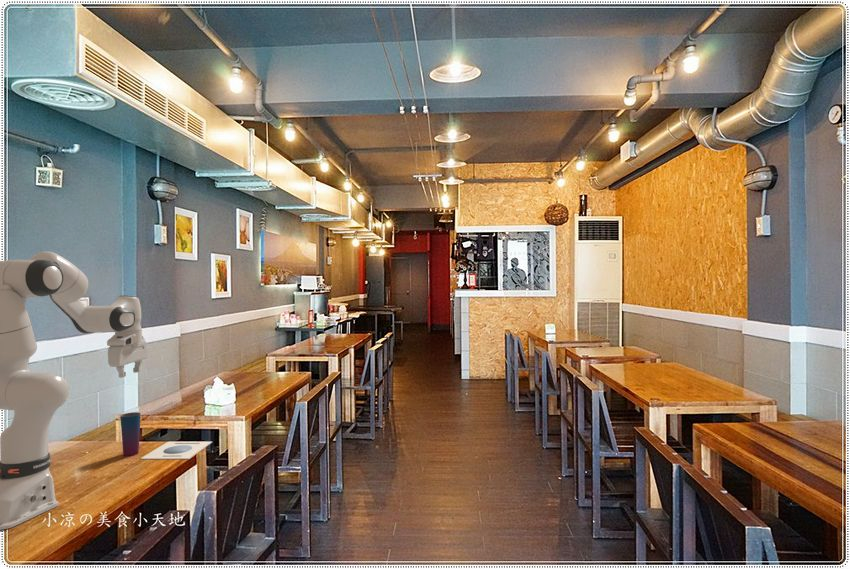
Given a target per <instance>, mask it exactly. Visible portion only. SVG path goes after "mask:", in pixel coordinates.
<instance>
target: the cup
mask: <svg viewBox="0 0 850 569" xmlns="http://www.w3.org/2000/svg"><path fill="white" fill-rule="evenodd" d="M119 415H120V416H119V418H120V419H119V420H120V429H121V430H120V431H121V442H122V443H121V444H122V455H123V456H124V457H132V455H133V456H136V455H138V454H139V449H140V436H141V435H140V431H141V419H142V418H141V417H142V413H141V412H139V411H135V412H134V411H133V412H125V413H122V414H119Z"/></svg>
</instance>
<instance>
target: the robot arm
mask: <svg viewBox="0 0 850 569" xmlns="http://www.w3.org/2000/svg"><path fill="white" fill-rule="evenodd" d="M88 288H89V279H88V277H87V276H86V274H85V273H84V272H83V271H82V270H81V269H80V268H78V267H77V266H76V265H75V264H74V263H72V262H71V261H69V260H68V259H66V258H65V257H63V256H61V255H59V254H58V253H56V252H54V251H48V250H45V251H44V250H43V251H40V252H37V253H36V254H34V255H32V256H31V257H30V258H29V259H20V258H19V259H9V260H0V410H6V411H13V412H14V413H13V414H14V415H13V419H12V421H11V423H10V425H9V426H8V427H6V428H5V429H4V430H3V431H2V433H0V531H1V530H6V529H7V530H8V529H11V528H14V527H15V526H18V525H20V524H22V523H24V522H27V521H28V520H31V519H33V518H35V517H37V516H39V515H41V514H43V513H46V512H47V511H49V510H53V509H54V508H56V507H58V506H59V501H58V500H57V499H56V494H55V486H54V478H53V477H54V476H53V475H52V474H51V472H50V466H51V461H52V460H51V453H50V452H49V437H50V436H49V434H50V433H49V432H50V425H51V422H52V420H53V416H54V415H55V413H56V412H57V410H58V409H59V408H60V407H62V406H63V405H64V404H65V403H66V401H67V399H68V397H69V394H70V386H69V383H68V381H67V380H66V379H65V378H64V377H63V376H60V375H56V374H53V373H49V372H33V371H31V370H30V368H29V365H30V363H29V362H30V358H31V357H32V356H34V355H35V353H36V352H37V350H38V345H37V342H36V337H35V333H34V329H33V326H32V322H31V319H30V316H29V312H28V310H27V307H26V301H27V299H28V298H34V297H35V298H36V297H47V296H49V298H50V300H51V301H52V303H54V304H55V305H56V307H57V308H58V309H60V310H61V311H62V312H63V313H64V314H65V316H67V317H68V318H69V319H70V321H71V322H72V324H73V325H74V328H75V329H76V330H77V331H78V332H79V333H82V334H94V333H114V334H113V335H112V336H111V337H110V338H109V339H108V340H106V345H107V347H108V349H107V363H108V365H109V367H110V368H115V369H116V371H117V373H118V377H119V378H125V377H126V376H127V375H126V374H127V373H126V371H125V370H124V369H125V366H126V365H128V364H132V363H133V364H134V367H133V368H132V369H133V370H132V371H133V373H139V372H140V371H141V364H142V360H145V359H147V358H148V356H149V355H148V354H149V353H148V345H147V342H146V340H145V338H144V336H143V329H142V326H141V322H142V306H141V302H140V298H139V297H137V296H133V295H118V296H116V298H115V300H114V302H113V303H111V304H109V305H88V304H84V303H83V302H82V301H81V300H80V299H82V297H84V295H86V293H87V292H88Z"/></svg>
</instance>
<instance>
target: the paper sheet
mask: <svg viewBox="0 0 850 569" xmlns="http://www.w3.org/2000/svg"><path fill="white" fill-rule="evenodd" d="M212 443H213V441H166V442H165V443H164V444H162V445H160V446H159V447H156V448H155V449H154V450H152V451H150V452H149V453H147V454H145V455H143V456H142V457H140V460H190V459H191V458H193V457H194V456H195V455H197V454H198V453H200V452H201V451H202V450H203V449H205V448H207V447H208V446H209V445H211V444H212Z"/></svg>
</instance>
